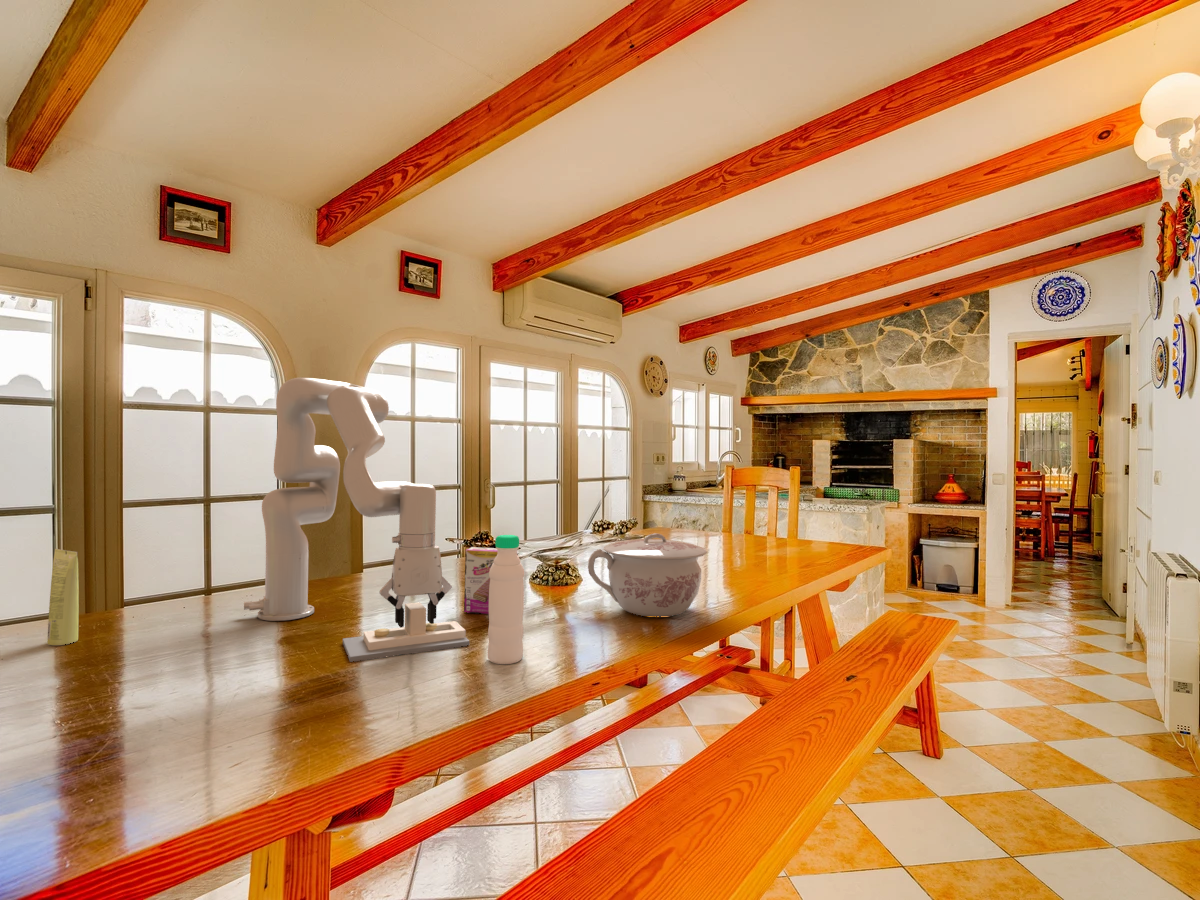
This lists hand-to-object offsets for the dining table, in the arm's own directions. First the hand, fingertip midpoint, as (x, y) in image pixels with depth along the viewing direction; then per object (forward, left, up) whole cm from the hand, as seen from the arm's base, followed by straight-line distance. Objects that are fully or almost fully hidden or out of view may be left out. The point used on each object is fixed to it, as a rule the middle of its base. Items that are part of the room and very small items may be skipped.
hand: (415, 623), depth 135 cm
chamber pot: (+62, +1, -5) cm, 62 cm away
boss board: (-2, 0, -4) cm, 5 cm away
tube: (-66, +31, -5) cm, 73 cm away
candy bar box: (+22, +18, -5) cm, 29 cm away
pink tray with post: (0, 0, -3) cm, 3 cm away
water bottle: (+14, -18, -5) cm, 23 cm away
